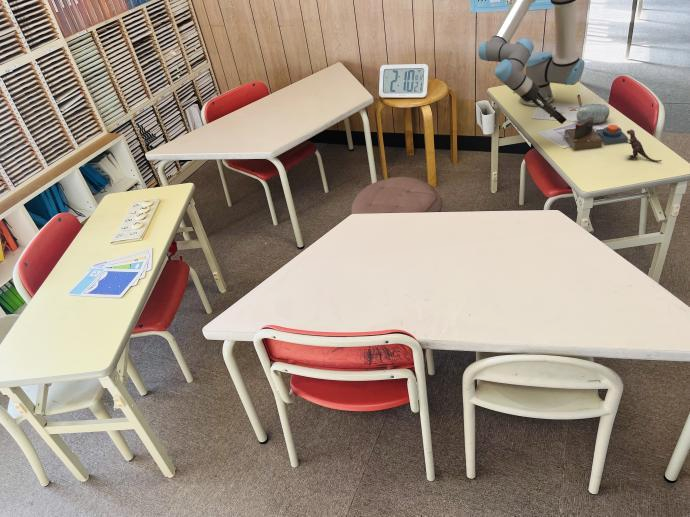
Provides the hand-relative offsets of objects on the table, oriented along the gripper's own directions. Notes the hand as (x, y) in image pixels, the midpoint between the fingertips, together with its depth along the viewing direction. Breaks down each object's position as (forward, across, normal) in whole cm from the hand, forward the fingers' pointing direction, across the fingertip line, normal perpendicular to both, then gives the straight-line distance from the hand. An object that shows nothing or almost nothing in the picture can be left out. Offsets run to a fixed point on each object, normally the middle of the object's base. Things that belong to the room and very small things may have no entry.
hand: (563, 121), depth 228 cm
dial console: (+12, +4, -1) cm, 12 cm away
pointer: (+9, +4, +1) cm, 10 cm away
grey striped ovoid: (+19, -14, +6) cm, 24 cm away
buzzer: (+20, +4, +7) cm, 22 cm away
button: (+17, +4, +10) cm, 21 cm away
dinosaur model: (+23, +25, +10) cm, 35 cm away
